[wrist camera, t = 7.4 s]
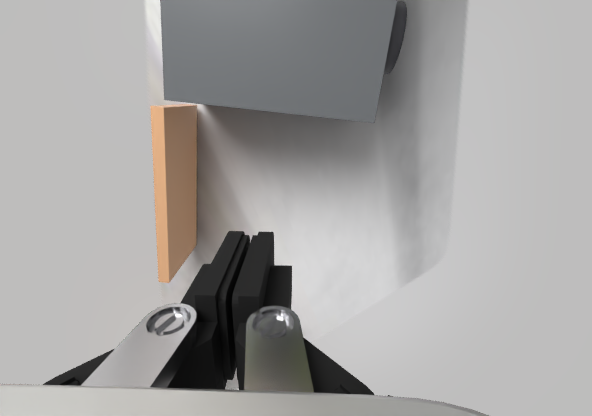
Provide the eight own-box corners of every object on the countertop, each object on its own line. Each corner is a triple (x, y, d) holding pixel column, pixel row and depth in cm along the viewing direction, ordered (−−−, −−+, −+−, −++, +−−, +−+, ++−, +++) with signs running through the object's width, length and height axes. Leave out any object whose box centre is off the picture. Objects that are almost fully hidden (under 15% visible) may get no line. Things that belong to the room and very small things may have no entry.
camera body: (201, -56, 27) (149, -135, 18) (395, -33, 27) (442, -98, 18) (201, 99, 32) (159, 100, 22) (368, 117, 32) (395, 126, 23)
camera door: (197, 105, 31) (163, 107, 24) (196, 244, 37) (169, 282, 29) (179, 103, 31) (140, 104, 24) (181, 243, 37) (150, 280, 29)
